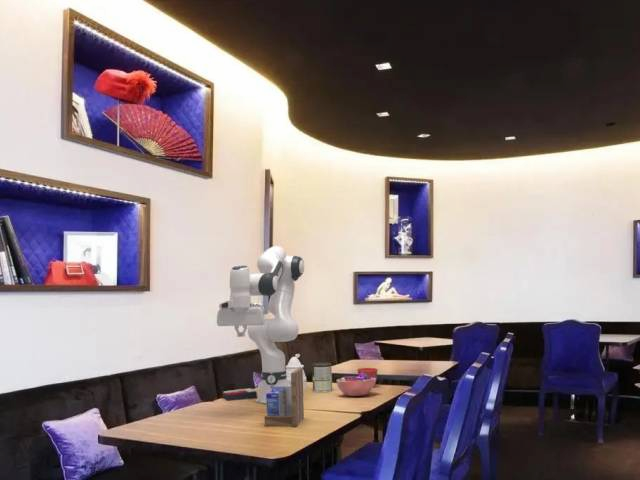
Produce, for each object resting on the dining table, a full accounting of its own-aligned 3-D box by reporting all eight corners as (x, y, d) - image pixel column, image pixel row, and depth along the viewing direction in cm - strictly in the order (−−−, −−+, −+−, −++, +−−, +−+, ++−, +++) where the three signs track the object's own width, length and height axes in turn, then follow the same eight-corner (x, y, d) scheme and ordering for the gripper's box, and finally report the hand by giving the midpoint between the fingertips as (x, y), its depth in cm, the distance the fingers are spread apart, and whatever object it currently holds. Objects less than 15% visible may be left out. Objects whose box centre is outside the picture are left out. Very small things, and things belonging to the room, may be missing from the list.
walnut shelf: (273, 417, 249) (272, 368, 251) (303, 417, 247) (302, 367, 249) (263, 427, 231) (262, 373, 233) (296, 427, 230) (294, 373, 231)
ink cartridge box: (272, 419, 245) (271, 383, 246) (285, 419, 244) (284, 383, 246) (266, 425, 235) (265, 386, 237) (280, 425, 234) (279, 386, 236)
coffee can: (308, 391, 318) (308, 363, 319) (325, 389, 324) (324, 362, 325) (320, 393, 309) (319, 365, 311) (336, 391, 315) (335, 363, 317)
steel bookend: (274, 417, 250) (273, 385, 251) (300, 417, 248) (299, 384, 250) (271, 419, 246) (271, 386, 247) (298, 419, 244) (297, 386, 245)
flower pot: (376, 385, 331) (375, 367, 332) (379, 388, 320) (378, 369, 321) (357, 386, 330) (356, 368, 331) (359, 389, 320) (358, 370, 321)
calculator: (221, 391, 305) (251, 387, 311) (222, 399, 305) (251, 395, 310) (226, 393, 295) (256, 389, 300) (227, 402, 295) (257, 398, 300)
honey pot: (306, 385, 338) (305, 352, 340) (306, 389, 325) (305, 355, 327) (283, 386, 338) (282, 353, 340) (282, 389, 325) (281, 355, 327)
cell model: (331, 395, 303) (330, 372, 304) (367, 391, 310) (367, 369, 311) (344, 400, 287) (343, 375, 288) (382, 396, 294) (381, 372, 295)
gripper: (266, 302, 260) (266, 335, 259) (219, 304, 263) (220, 336, 261) (262, 303, 254) (263, 336, 252) (215, 304, 256) (215, 337, 255)
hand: (241, 336), depth 257 cm, fingers closed
